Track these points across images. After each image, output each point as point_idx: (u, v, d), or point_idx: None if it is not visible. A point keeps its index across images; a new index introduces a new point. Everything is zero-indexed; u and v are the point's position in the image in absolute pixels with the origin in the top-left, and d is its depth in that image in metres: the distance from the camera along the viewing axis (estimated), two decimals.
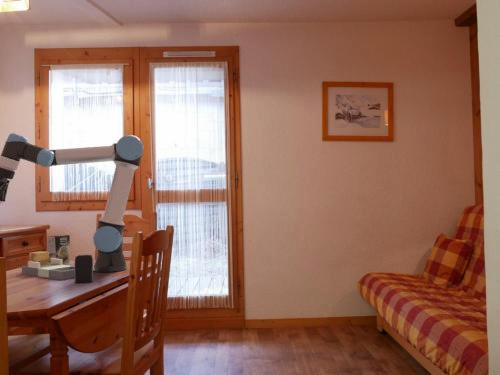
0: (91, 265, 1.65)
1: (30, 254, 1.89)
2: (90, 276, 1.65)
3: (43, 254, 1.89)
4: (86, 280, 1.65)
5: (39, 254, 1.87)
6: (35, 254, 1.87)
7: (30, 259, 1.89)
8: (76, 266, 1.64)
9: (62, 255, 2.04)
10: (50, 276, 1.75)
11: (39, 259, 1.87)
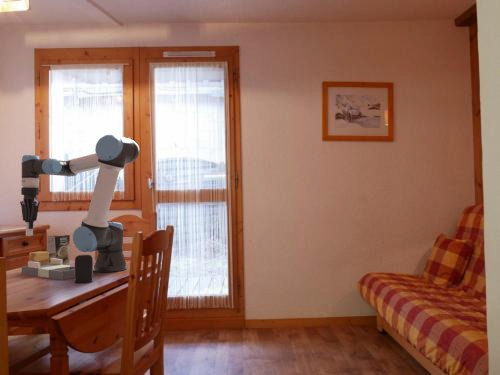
0: (91, 265, 1.65)
1: (30, 254, 1.89)
2: (90, 276, 1.65)
3: (43, 254, 1.89)
4: (86, 280, 1.65)
5: (39, 254, 1.87)
6: (35, 254, 1.87)
7: (30, 259, 1.89)
8: (76, 266, 1.64)
9: (62, 255, 2.04)
10: (50, 276, 1.75)
11: (39, 259, 1.87)
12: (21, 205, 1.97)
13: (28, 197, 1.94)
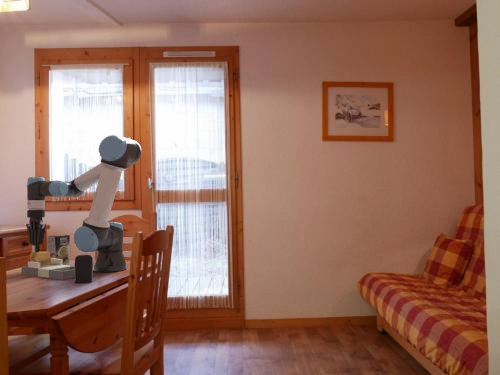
0: (91, 265, 1.65)
1: (31, 254, 1.88)
2: (90, 276, 1.65)
3: (44, 254, 1.88)
4: (86, 280, 1.65)
5: (40, 254, 1.87)
6: (36, 254, 1.86)
7: (31, 259, 1.88)
8: (76, 266, 1.64)
9: (62, 255, 2.04)
10: (50, 276, 1.75)
11: (40, 259, 1.87)
12: (27, 228, 1.94)
13: (34, 220, 1.91)
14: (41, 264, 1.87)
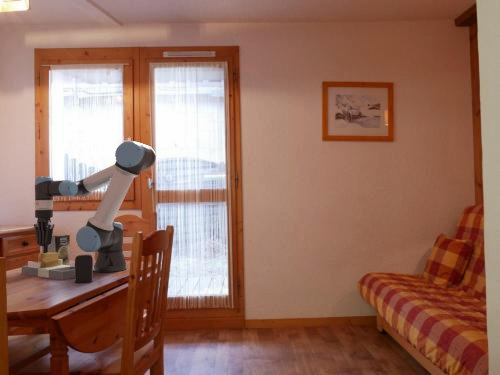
0: (91, 265, 1.65)
1: (39, 255, 1.85)
2: (90, 276, 1.65)
3: (52, 255, 1.85)
4: (86, 280, 1.65)
5: (48, 255, 1.83)
6: (44, 255, 1.83)
7: (39, 260, 1.85)
8: (76, 266, 1.64)
9: (62, 255, 2.04)
10: (50, 276, 1.75)
11: (48, 260, 1.83)
12: (35, 228, 1.91)
13: (42, 220, 1.88)
14: (49, 265, 1.84)
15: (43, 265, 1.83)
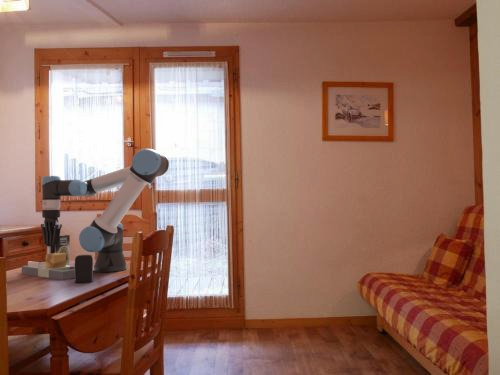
0: (91, 265, 1.65)
1: (46, 256, 1.82)
2: (90, 276, 1.65)
3: (60, 256, 1.82)
4: (86, 280, 1.65)
5: (56, 256, 1.80)
6: (52, 256, 1.80)
7: (46, 261, 1.82)
8: (76, 266, 1.64)
9: None
10: (50, 276, 1.75)
11: (56, 261, 1.80)
12: (42, 228, 1.88)
13: (49, 220, 1.85)
14: (57, 266, 1.81)
15: (50, 266, 1.80)
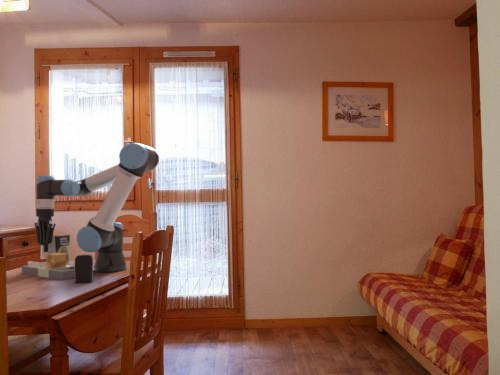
0: (91, 265, 1.65)
1: (47, 256, 1.82)
2: (90, 276, 1.65)
3: (60, 256, 1.82)
4: (86, 280, 1.65)
5: (56, 256, 1.80)
6: (52, 256, 1.80)
7: (47, 261, 1.82)
8: (76, 266, 1.64)
9: None
10: (50, 276, 1.75)
11: (56, 261, 1.80)
12: None
13: (43, 219, 1.87)
14: (57, 266, 1.81)
15: (51, 266, 1.80)
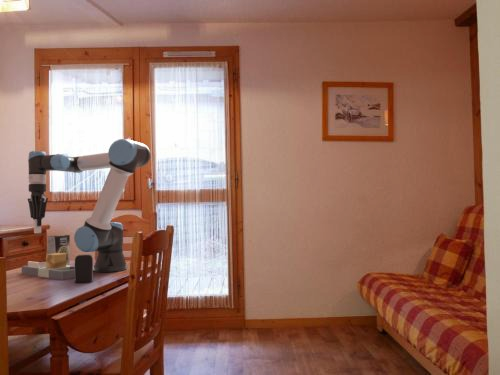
0: (91, 265, 1.65)
1: (47, 256, 1.82)
2: (90, 276, 1.65)
3: (60, 256, 1.82)
4: (86, 280, 1.65)
5: (56, 256, 1.80)
6: (52, 256, 1.80)
7: (47, 261, 1.82)
8: (76, 266, 1.64)
9: None
10: (50, 276, 1.75)
11: (56, 261, 1.80)
12: (29, 202, 1.94)
13: (36, 194, 1.91)
14: (57, 266, 1.81)
15: (51, 266, 1.80)
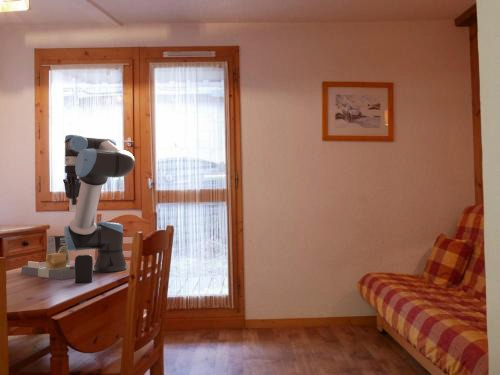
0: (91, 265, 1.65)
1: (47, 256, 1.82)
2: (90, 276, 1.65)
3: (60, 256, 1.82)
4: (86, 280, 1.65)
5: (56, 256, 1.80)
6: (52, 256, 1.80)
7: (47, 261, 1.82)
8: (76, 266, 1.63)
9: None
10: (50, 276, 1.75)
11: (56, 261, 1.80)
12: (64, 183, 2.08)
13: (71, 175, 2.05)
14: (57, 266, 1.81)
15: (51, 266, 1.80)
